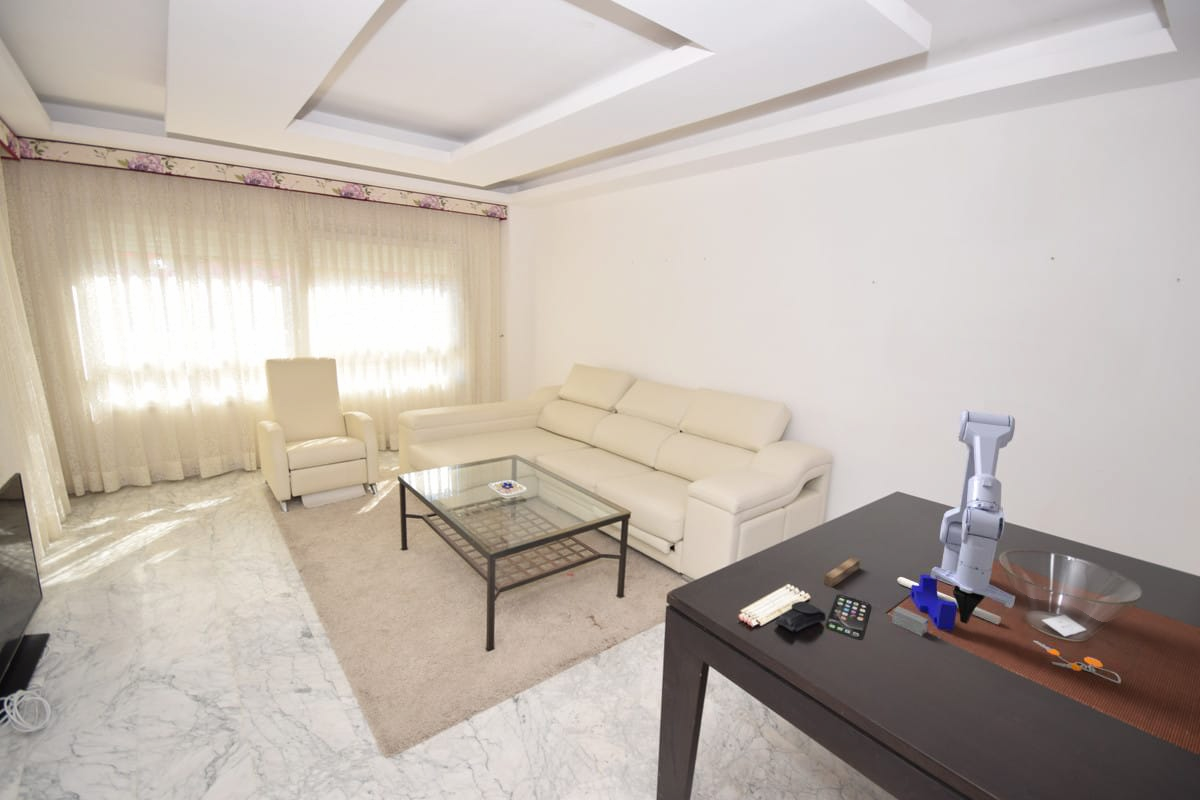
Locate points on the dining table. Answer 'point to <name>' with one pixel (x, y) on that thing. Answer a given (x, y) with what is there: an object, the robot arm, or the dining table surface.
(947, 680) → the dining table surface
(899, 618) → the grey rectangular block
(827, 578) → the bar
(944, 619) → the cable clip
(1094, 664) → the key chain
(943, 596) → the white rod
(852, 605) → the smartphone
